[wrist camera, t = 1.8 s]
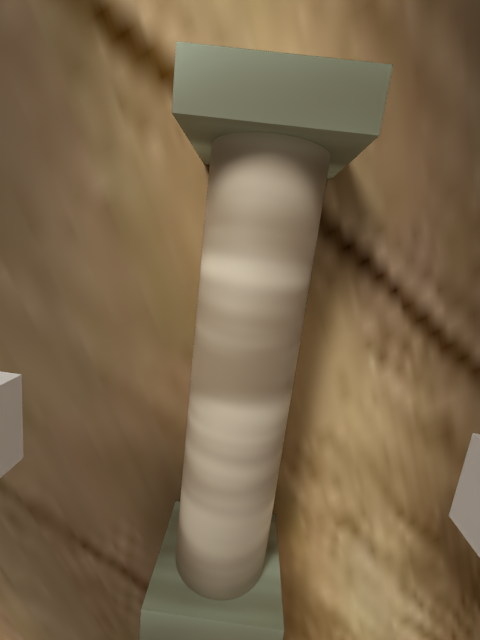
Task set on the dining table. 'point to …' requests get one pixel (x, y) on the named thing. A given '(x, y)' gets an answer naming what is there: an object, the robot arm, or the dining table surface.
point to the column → (250, 317)
